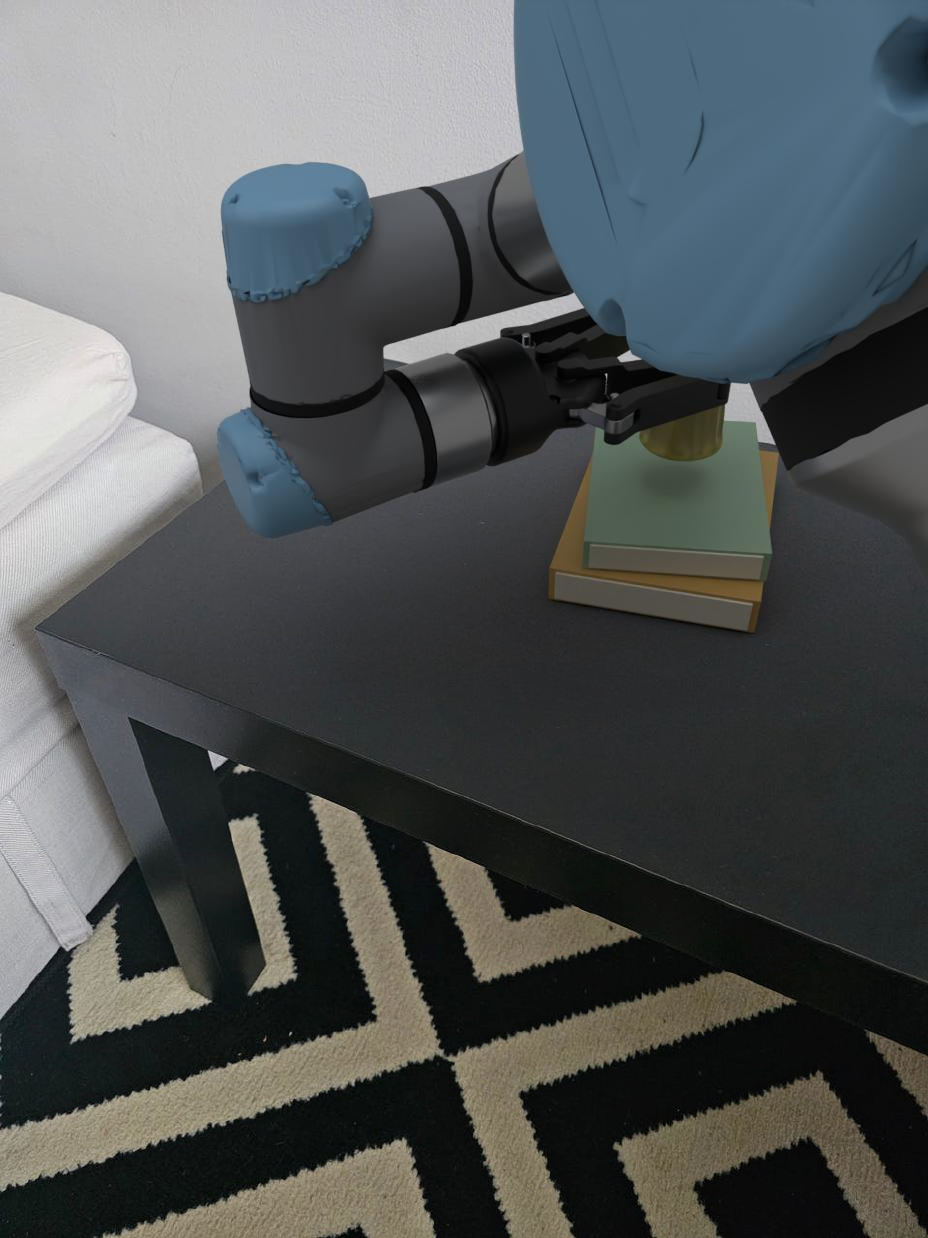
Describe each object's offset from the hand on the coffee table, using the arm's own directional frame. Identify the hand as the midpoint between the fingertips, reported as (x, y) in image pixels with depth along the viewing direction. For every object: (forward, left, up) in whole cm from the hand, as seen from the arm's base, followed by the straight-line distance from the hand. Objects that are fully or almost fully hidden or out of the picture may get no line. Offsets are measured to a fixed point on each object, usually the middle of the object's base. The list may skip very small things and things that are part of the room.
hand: (750, 321), depth 71 cm
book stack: (-4, +4, -17) cm, 18 cm away
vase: (-4, +4, -8) cm, 10 cm away
